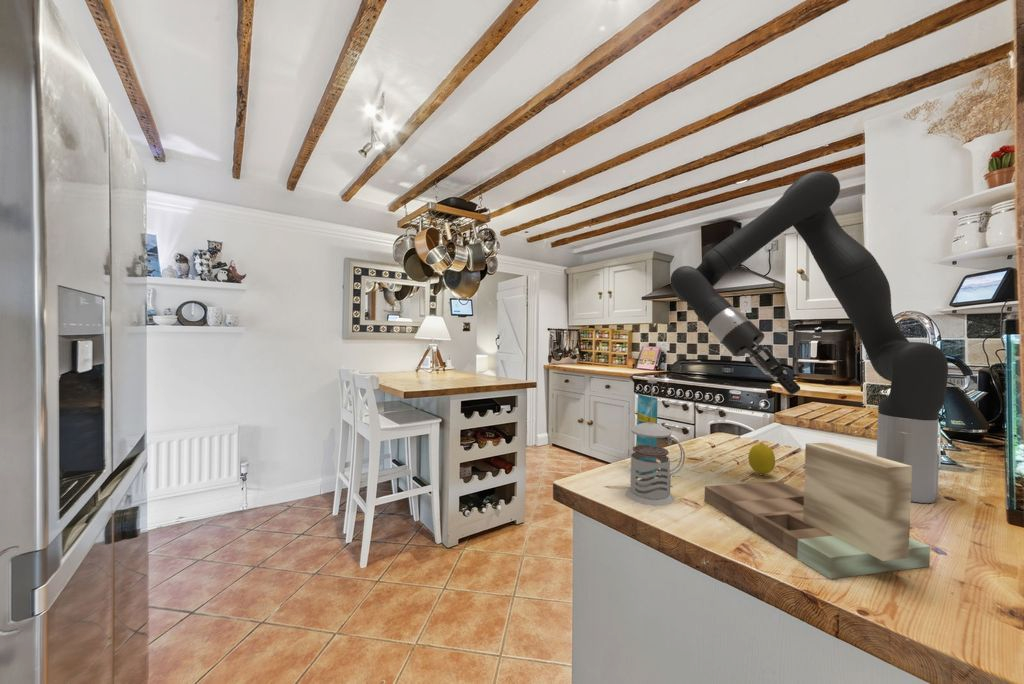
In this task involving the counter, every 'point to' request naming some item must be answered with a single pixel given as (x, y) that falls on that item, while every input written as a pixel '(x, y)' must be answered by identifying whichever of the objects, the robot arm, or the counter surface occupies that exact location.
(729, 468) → the counter surface
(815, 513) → the block
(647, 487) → the french press
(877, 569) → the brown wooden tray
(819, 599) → the counter surface
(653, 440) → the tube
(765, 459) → the lemon
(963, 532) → the counter surface
